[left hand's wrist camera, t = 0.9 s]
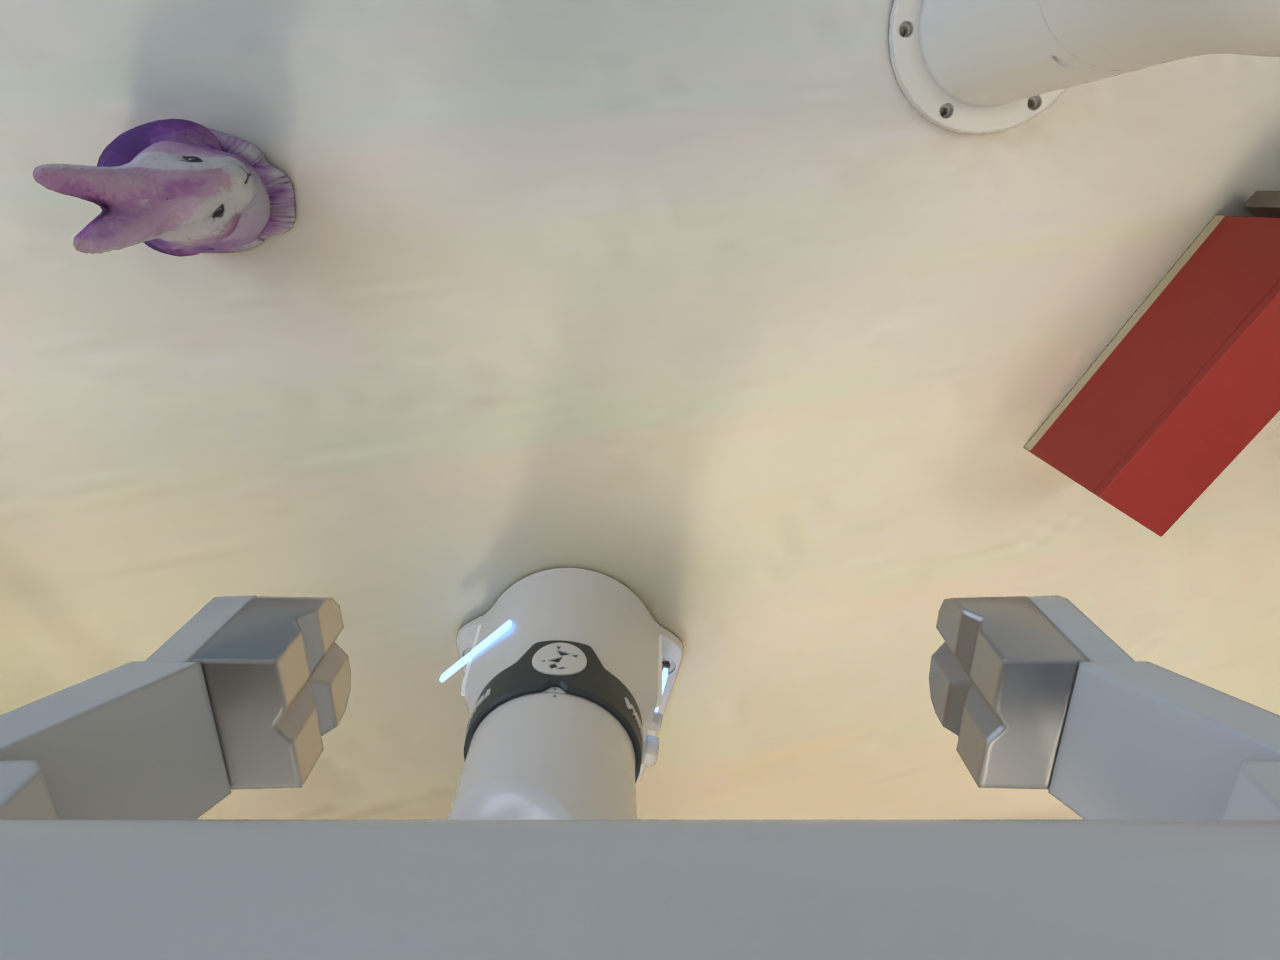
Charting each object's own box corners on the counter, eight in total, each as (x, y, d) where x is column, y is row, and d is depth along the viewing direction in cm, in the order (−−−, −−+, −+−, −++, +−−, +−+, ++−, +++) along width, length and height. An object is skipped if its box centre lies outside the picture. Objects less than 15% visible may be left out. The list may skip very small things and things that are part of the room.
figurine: (333, 194, 50) (215, 194, 36) (235, 293, 53) (87, 329, 39) (222, 72, 48) (48, 20, 34) (124, 182, 50) (-77, 177, 36)
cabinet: (1215, 215, 51) (1343, 219, 42) (1272, 258, 52) (1409, 272, 43) (1023, 447, 57) (1098, 496, 48) (1078, 482, 58) (1161, 537, 49)
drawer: (1319, 114, 48) (1449, 98, 40) (1365, 152, 49) (1500, 143, 41) (1064, 419, 55) (1133, 456, 47) (1108, 448, 56) (1182, 488, 48)
